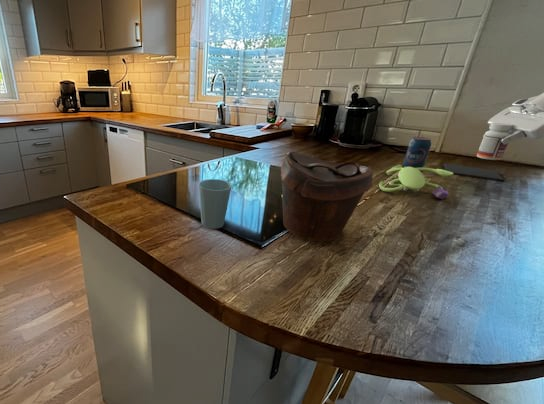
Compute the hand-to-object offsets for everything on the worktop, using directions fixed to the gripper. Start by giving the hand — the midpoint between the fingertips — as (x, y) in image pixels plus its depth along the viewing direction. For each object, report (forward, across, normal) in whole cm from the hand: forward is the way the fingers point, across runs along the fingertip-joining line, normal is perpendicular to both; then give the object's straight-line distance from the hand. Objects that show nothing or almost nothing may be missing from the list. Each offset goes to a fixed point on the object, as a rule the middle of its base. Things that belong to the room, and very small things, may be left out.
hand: (493, 140), depth 98 cm
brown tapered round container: (+54, -50, +33) cm, 80 cm away
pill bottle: (+4, 0, -5) cm, 6 cm away
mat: (+6, +16, -16) cm, 24 cm away
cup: (+70, -53, +50) cm, 101 cm away
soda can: (+20, +18, -2) cm, 27 cm away
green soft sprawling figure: (+27, -8, +5) cm, 29 cm away
